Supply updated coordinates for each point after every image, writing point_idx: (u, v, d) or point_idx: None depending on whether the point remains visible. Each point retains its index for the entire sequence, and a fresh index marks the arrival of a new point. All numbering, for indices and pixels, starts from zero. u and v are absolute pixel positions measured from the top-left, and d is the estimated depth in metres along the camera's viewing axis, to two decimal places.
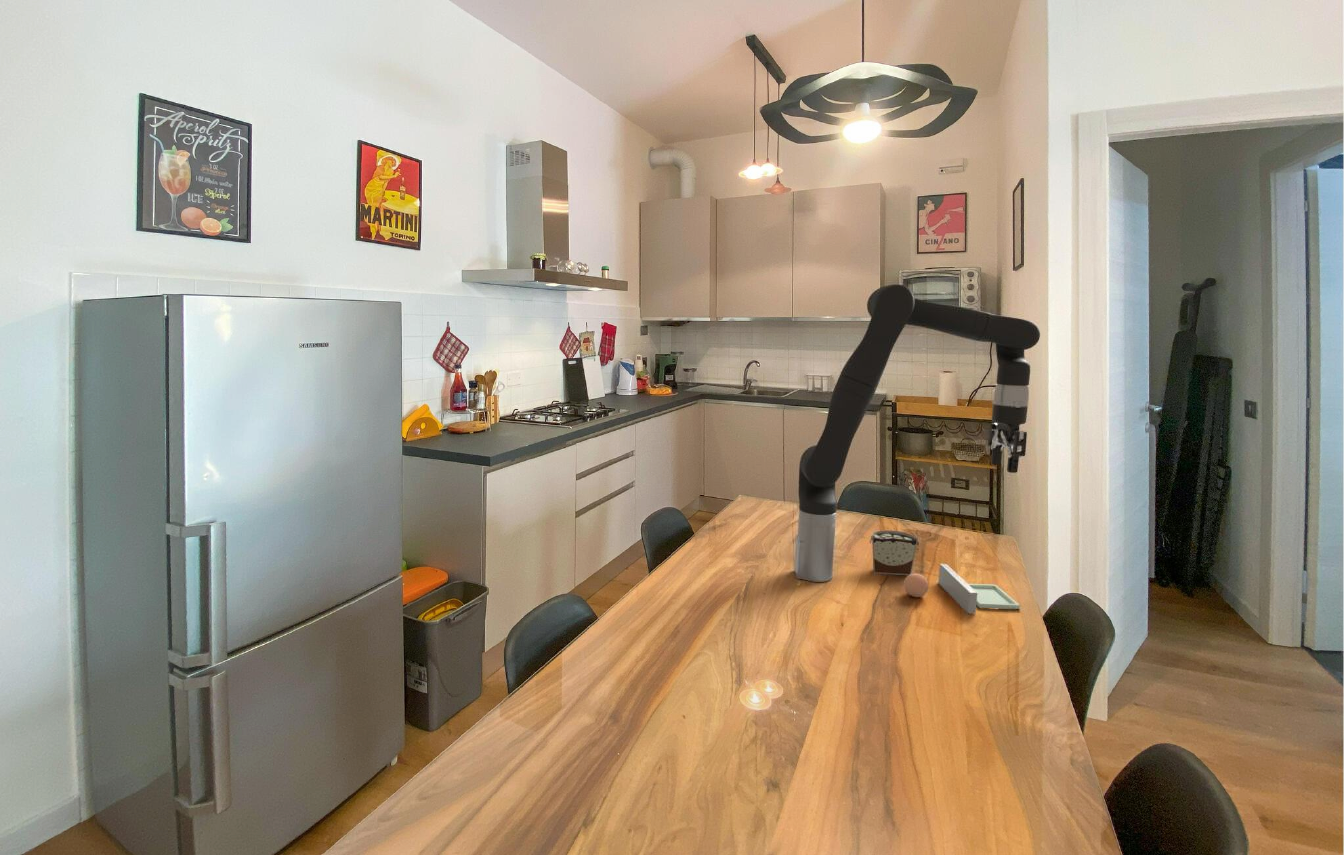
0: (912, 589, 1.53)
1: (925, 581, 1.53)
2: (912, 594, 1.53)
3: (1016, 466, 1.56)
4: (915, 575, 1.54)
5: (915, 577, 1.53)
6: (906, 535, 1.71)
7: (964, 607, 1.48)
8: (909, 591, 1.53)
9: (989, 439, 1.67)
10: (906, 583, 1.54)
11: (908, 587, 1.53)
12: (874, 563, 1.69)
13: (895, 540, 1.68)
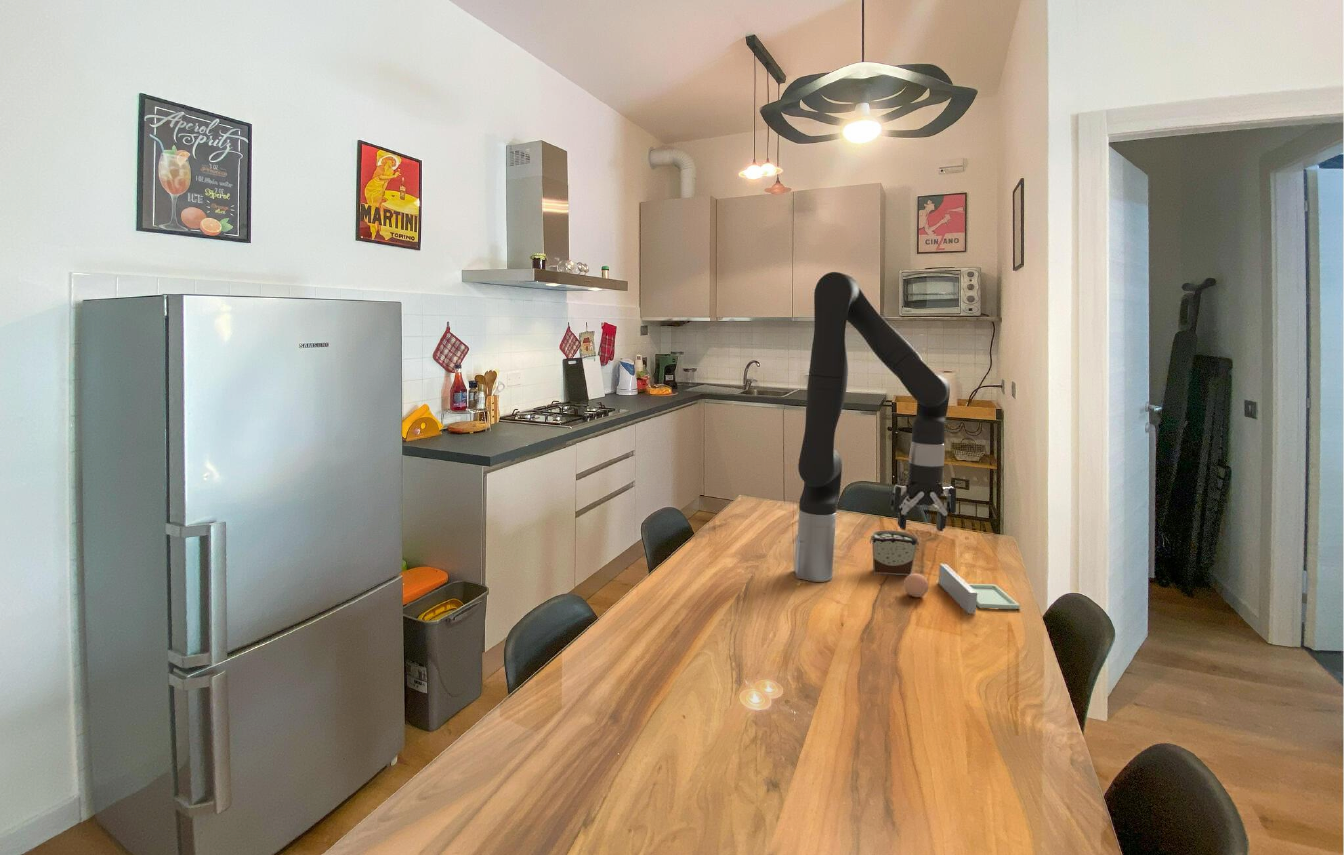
0: (912, 589, 1.53)
1: (925, 581, 1.53)
2: (912, 594, 1.53)
3: None
4: (915, 575, 1.54)
5: (915, 577, 1.53)
6: (906, 535, 1.71)
7: (964, 607, 1.48)
8: (909, 591, 1.53)
9: (896, 504, 1.51)
10: (906, 583, 1.54)
11: (908, 587, 1.53)
12: (874, 563, 1.69)
13: (895, 540, 1.68)
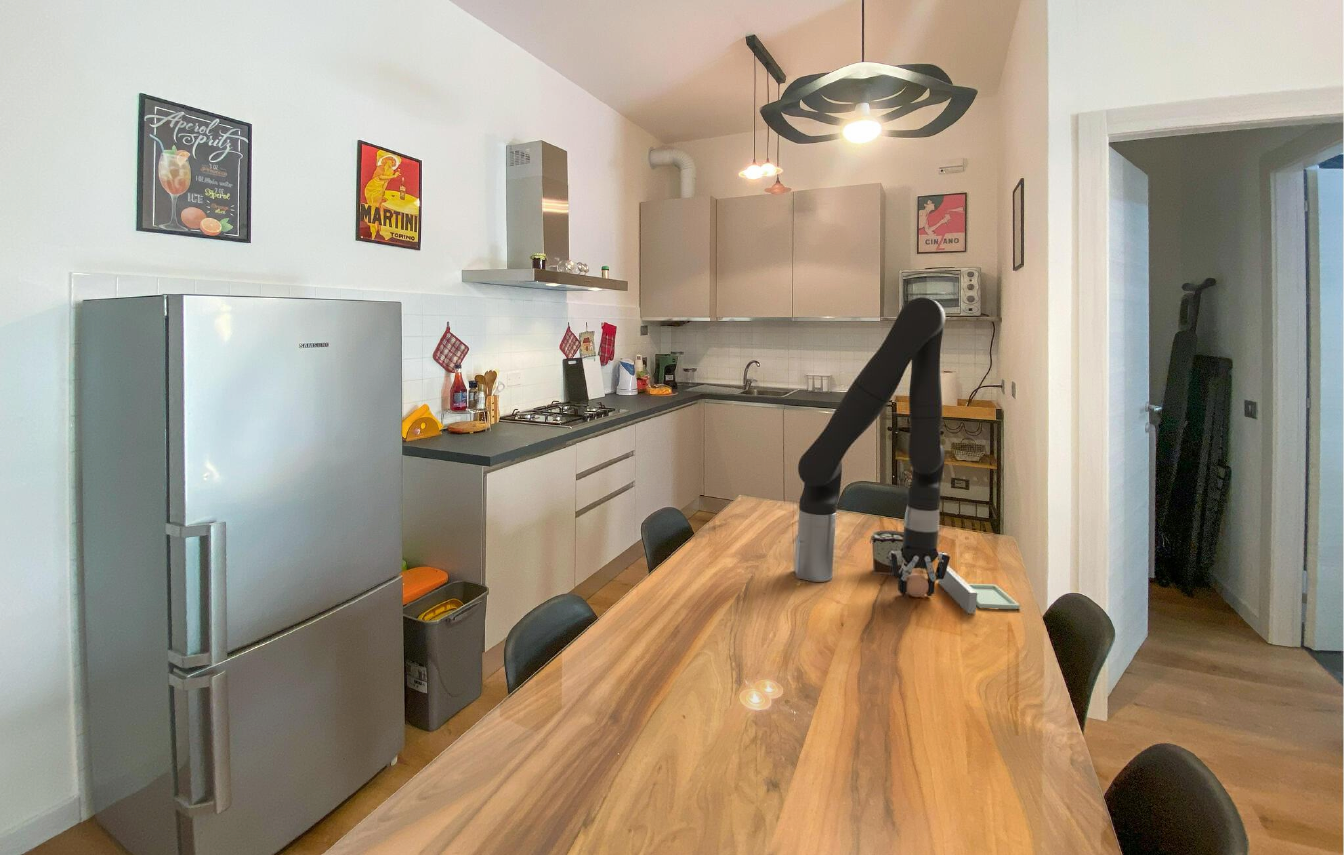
0: (912, 589, 1.53)
1: (925, 581, 1.53)
2: (912, 594, 1.53)
3: None
4: (915, 575, 1.54)
5: (915, 577, 1.53)
6: None
7: (964, 607, 1.48)
8: (909, 591, 1.53)
9: (895, 570, 1.53)
10: None
11: (908, 587, 1.53)
12: (874, 563, 1.69)
13: (895, 540, 1.68)
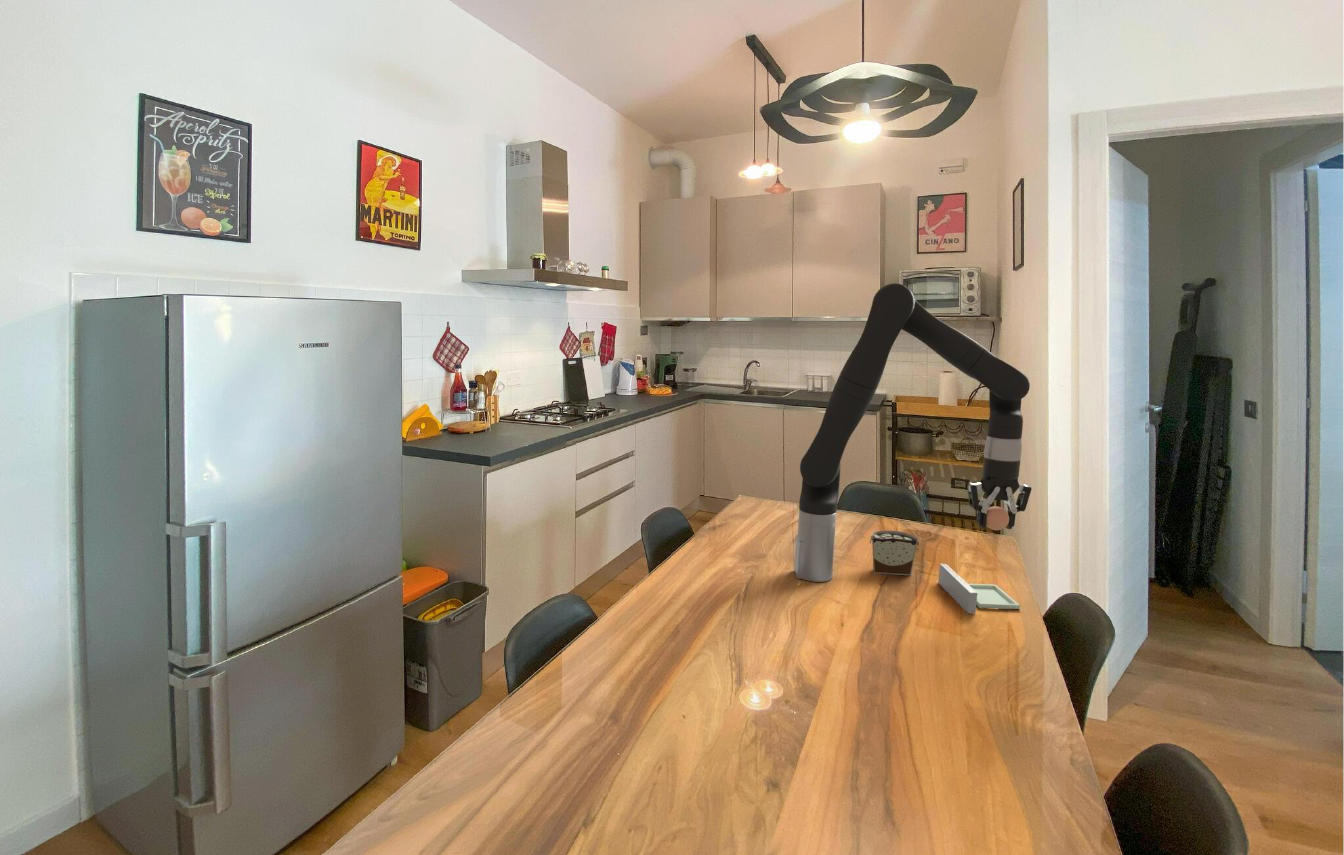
0: (993, 521, 1.50)
1: (1006, 513, 1.50)
2: (992, 527, 1.50)
3: None
4: (995, 508, 1.51)
5: (996, 509, 1.50)
6: (906, 535, 1.71)
7: (964, 607, 1.48)
8: (989, 524, 1.50)
9: (976, 502, 1.50)
10: None
11: (988, 520, 1.50)
12: (874, 563, 1.69)
13: (895, 540, 1.68)
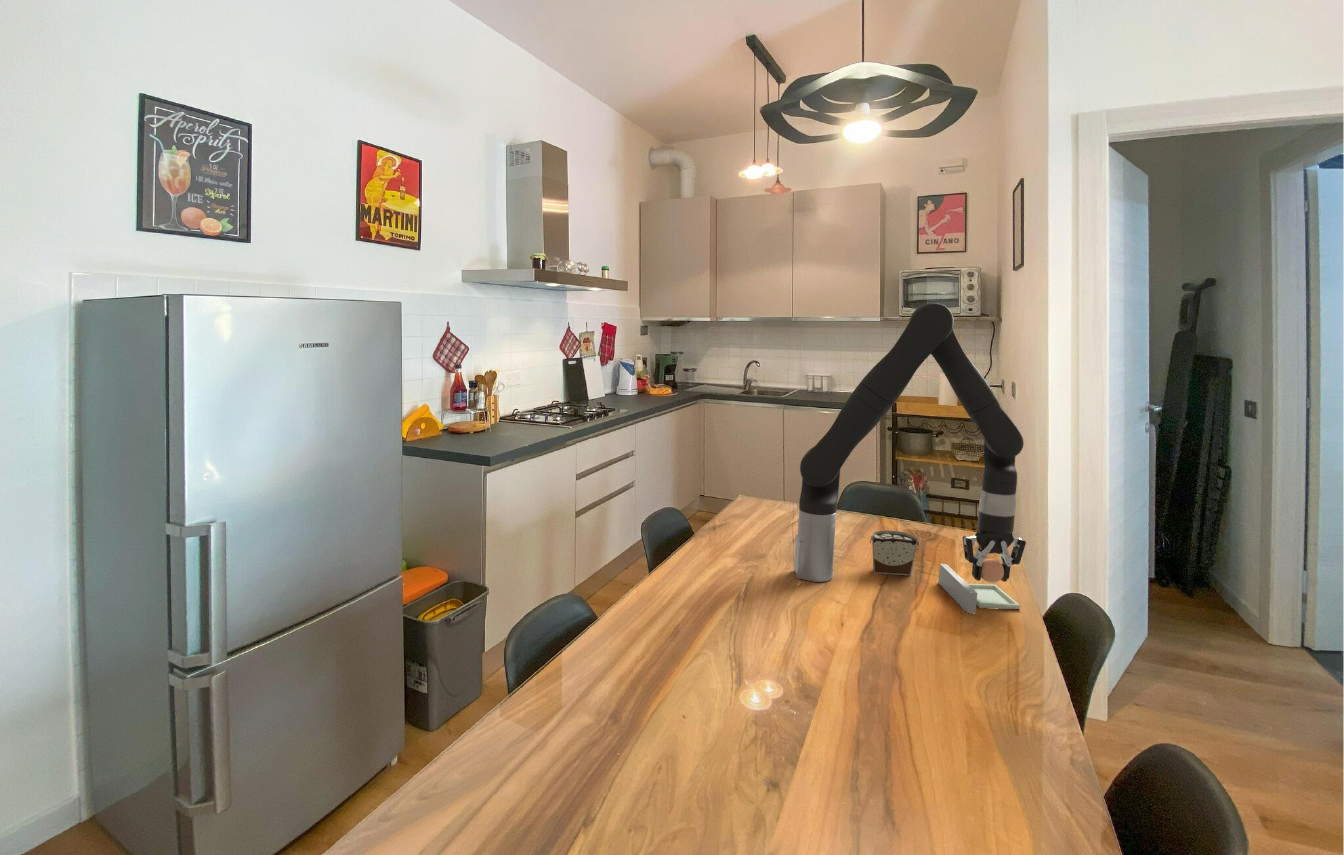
0: (988, 574, 1.51)
1: (1001, 566, 1.52)
2: (987, 580, 1.52)
3: None
4: (990, 560, 1.53)
5: (991, 562, 1.52)
6: (906, 535, 1.71)
7: (964, 607, 1.48)
8: (984, 577, 1.52)
9: (971, 556, 1.52)
10: None
11: (983, 572, 1.52)
12: (874, 563, 1.69)
13: (895, 540, 1.68)
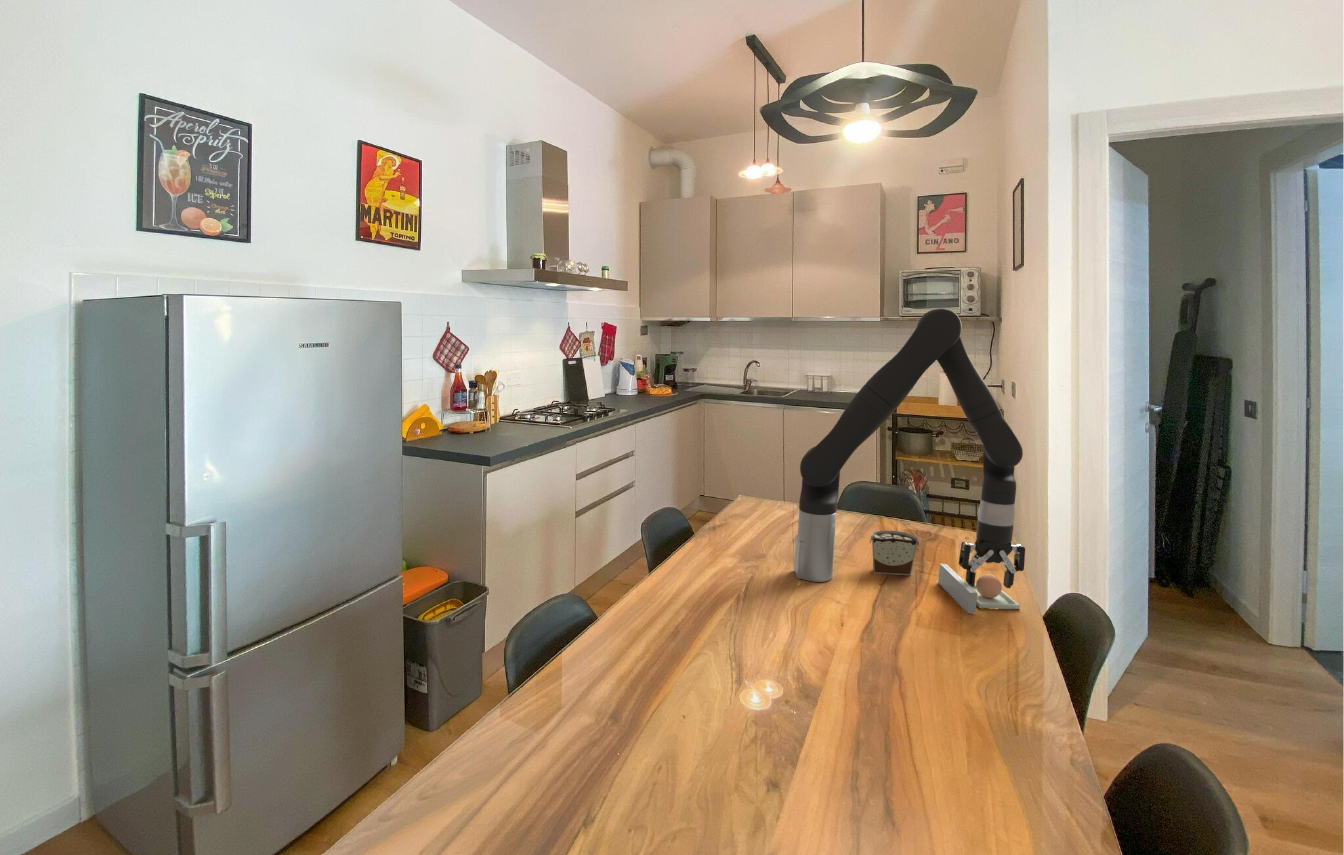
0: (986, 590, 1.52)
1: (999, 582, 1.52)
2: (985, 595, 1.53)
3: None
4: (988, 576, 1.53)
5: (989, 578, 1.53)
6: (906, 535, 1.71)
7: (964, 607, 1.48)
8: (982, 592, 1.53)
9: (966, 562, 1.52)
10: (979, 584, 1.54)
11: (981, 588, 1.53)
12: (874, 563, 1.69)
13: (895, 540, 1.68)
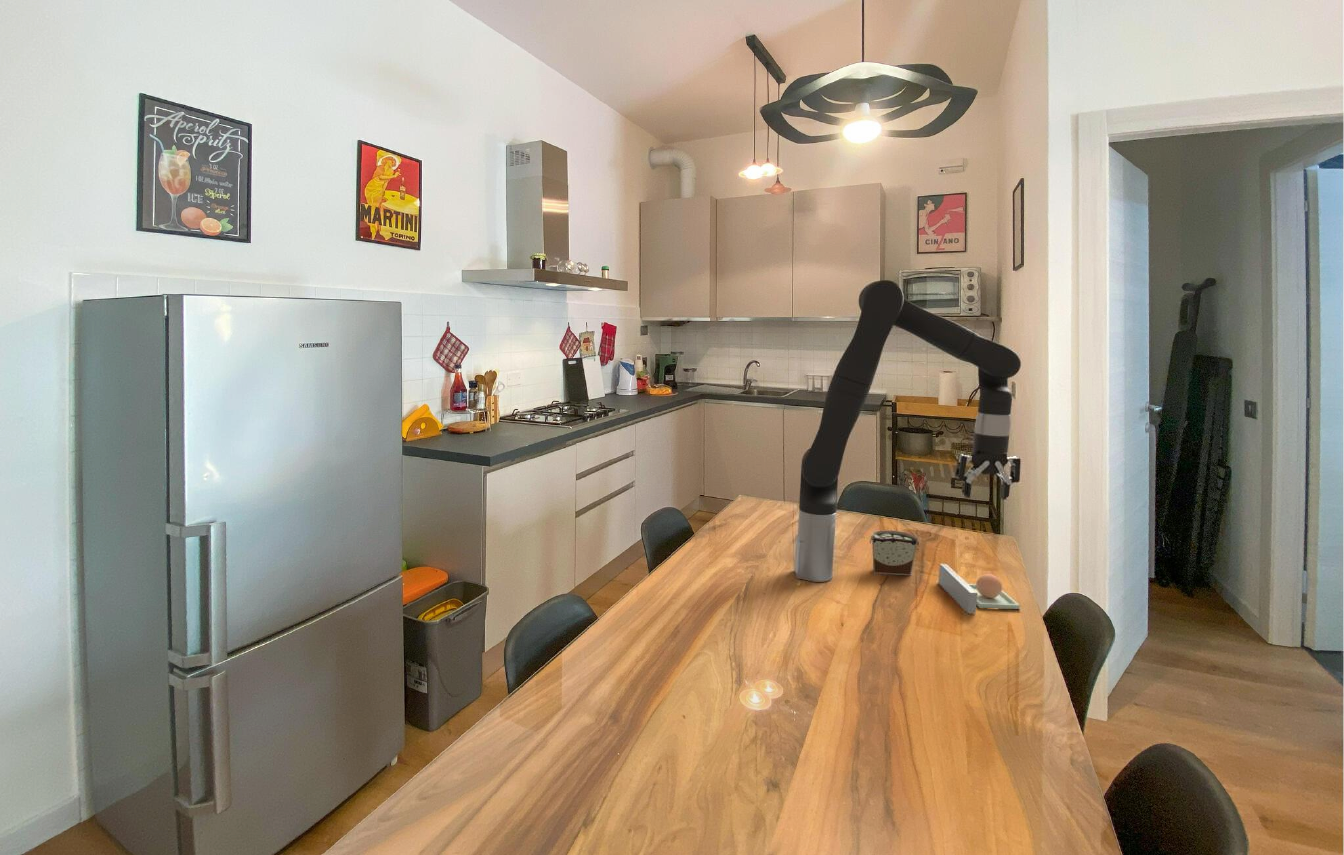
0: (986, 590, 1.52)
1: (999, 582, 1.52)
2: (985, 595, 1.53)
3: None
4: (988, 576, 1.53)
5: (989, 578, 1.53)
6: (906, 535, 1.71)
7: (964, 607, 1.48)
8: (982, 592, 1.53)
9: (962, 473, 1.57)
10: (979, 584, 1.54)
11: (981, 588, 1.53)
12: (874, 563, 1.69)
13: (895, 540, 1.68)
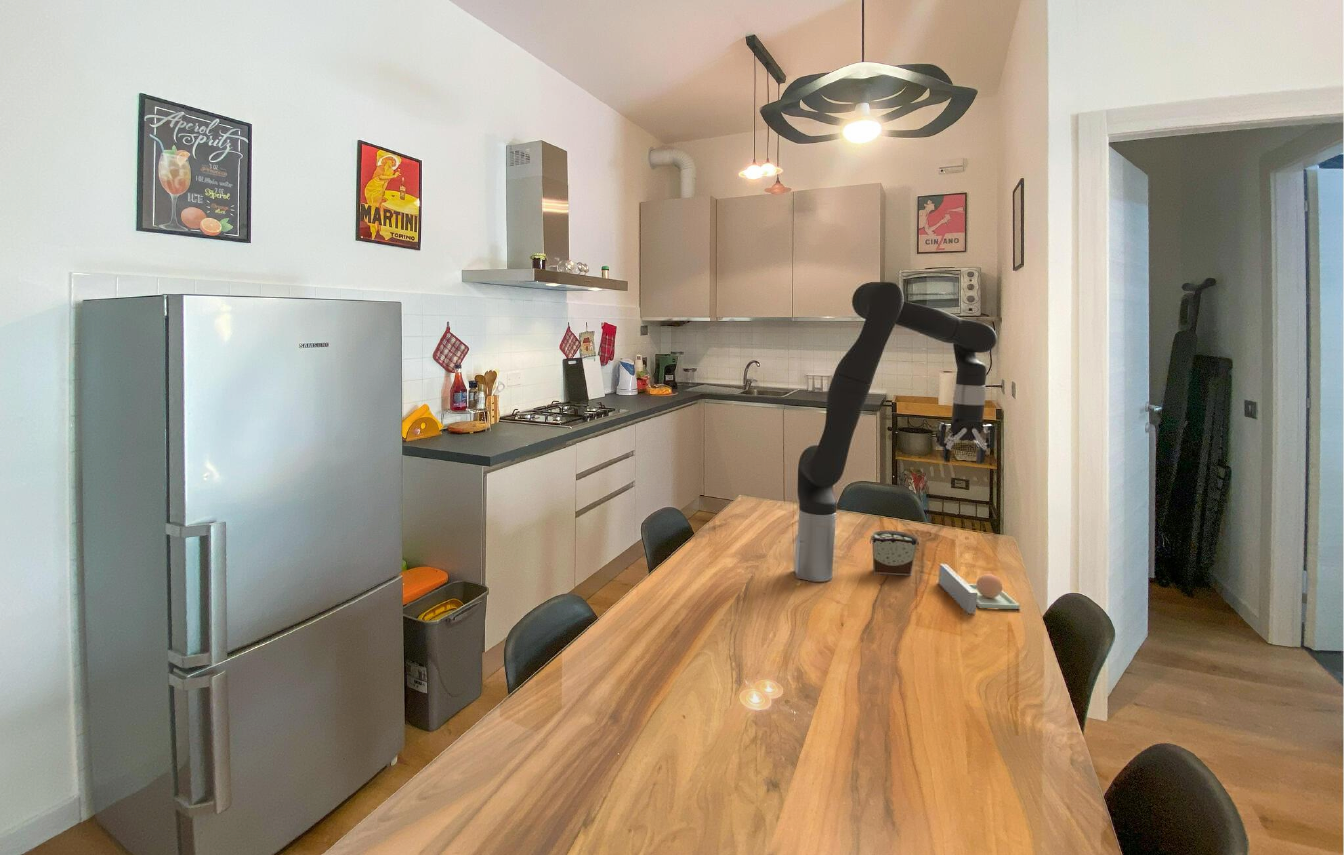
0: (986, 590, 1.52)
1: (999, 582, 1.52)
2: (985, 595, 1.53)
3: None
4: (989, 576, 1.53)
5: (989, 578, 1.53)
6: (906, 535, 1.71)
7: (964, 607, 1.48)
8: (982, 592, 1.53)
9: (942, 440, 1.71)
10: (979, 584, 1.54)
11: (982, 588, 1.53)
12: (874, 563, 1.69)
13: (895, 540, 1.68)
